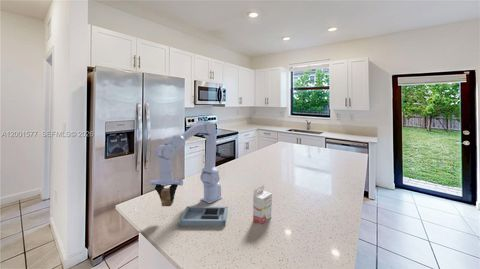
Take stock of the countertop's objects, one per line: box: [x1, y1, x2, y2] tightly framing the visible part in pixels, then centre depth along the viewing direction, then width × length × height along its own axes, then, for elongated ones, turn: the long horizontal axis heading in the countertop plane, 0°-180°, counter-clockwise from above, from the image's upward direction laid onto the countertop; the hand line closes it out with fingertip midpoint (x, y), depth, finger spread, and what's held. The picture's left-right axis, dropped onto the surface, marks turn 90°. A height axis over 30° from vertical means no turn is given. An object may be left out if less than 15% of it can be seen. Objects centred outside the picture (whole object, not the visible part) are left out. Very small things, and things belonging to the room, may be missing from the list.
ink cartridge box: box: [252, 184, 273, 225], centre depth 95 cm, size 9×5×15 cm, turn 141°
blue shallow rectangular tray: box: [178, 206, 229, 227], centre depth 97 cm, size 20×13×3 cm, turn 89°
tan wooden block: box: [160, 187, 174, 207], centre depth 96 cm, size 4×4×7 cm
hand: (167, 200), depth 96 cm, fingers closed on tan wooden block, 4 cm apart
